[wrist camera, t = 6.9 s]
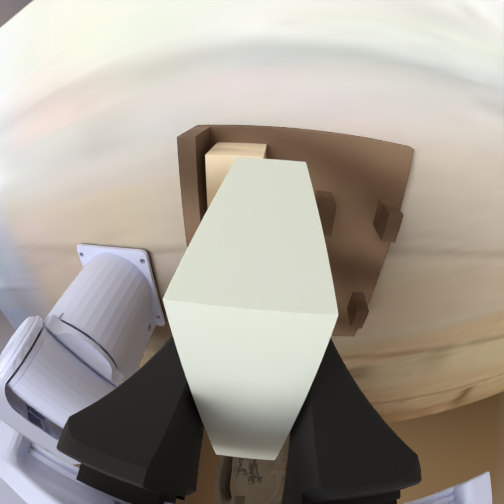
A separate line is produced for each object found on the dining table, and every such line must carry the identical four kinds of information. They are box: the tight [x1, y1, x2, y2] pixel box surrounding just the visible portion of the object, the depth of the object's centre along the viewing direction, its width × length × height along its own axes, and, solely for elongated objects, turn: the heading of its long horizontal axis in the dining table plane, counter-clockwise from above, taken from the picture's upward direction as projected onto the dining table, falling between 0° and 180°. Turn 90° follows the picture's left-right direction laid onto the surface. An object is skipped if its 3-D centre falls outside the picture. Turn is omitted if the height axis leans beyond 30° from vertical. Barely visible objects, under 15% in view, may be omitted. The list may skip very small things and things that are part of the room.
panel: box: [163, 157, 338, 460], centre depth 10 cm, size 10×3×8 cm, turn 178°
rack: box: [177, 125, 414, 336], centre depth 19 cm, size 18×14×4 cm
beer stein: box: [214, 432, 290, 504], centre depth 25 cm, size 15×11×20 cm
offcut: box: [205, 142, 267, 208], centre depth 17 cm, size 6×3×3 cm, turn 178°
